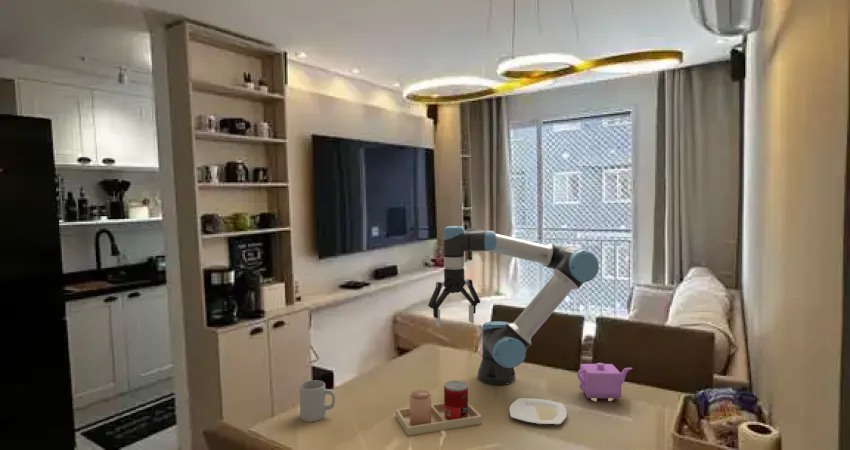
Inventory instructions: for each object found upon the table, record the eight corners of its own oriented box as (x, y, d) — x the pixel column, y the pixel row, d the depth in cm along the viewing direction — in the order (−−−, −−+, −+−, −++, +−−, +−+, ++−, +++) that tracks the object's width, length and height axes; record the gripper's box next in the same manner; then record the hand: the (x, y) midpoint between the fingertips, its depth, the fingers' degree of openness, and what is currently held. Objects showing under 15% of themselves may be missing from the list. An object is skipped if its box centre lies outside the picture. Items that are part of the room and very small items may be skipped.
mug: (296, 421, 166) (295, 389, 166) (304, 410, 175) (304, 379, 174) (332, 422, 166) (331, 390, 165) (338, 411, 174) (338, 380, 173)
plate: (569, 408, 177) (569, 402, 177) (565, 432, 159) (565, 426, 159) (514, 400, 183) (514, 395, 183) (504, 423, 165) (504, 418, 165)
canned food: (466, 423, 163) (466, 390, 163) (442, 420, 165) (442, 388, 165) (469, 413, 171) (469, 381, 170) (446, 410, 173) (446, 379, 172)
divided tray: (464, 407, 177) (464, 399, 176) (481, 425, 163) (481, 416, 163) (395, 418, 169) (395, 409, 168) (407, 437, 155) (407, 428, 155)
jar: (427, 416, 168) (427, 388, 168) (434, 425, 162) (434, 396, 161) (407, 419, 166) (407, 390, 166) (413, 429, 160) (413, 398, 159)
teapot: (580, 402, 181) (581, 368, 180) (573, 391, 191) (573, 358, 190) (637, 403, 180) (637, 368, 180) (626, 392, 190) (627, 359, 190)
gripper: (479, 264, 194) (480, 318, 196) (419, 268, 186) (420, 325, 187) (488, 266, 187) (489, 322, 189) (426, 271, 179) (427, 330, 180)
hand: (454, 324), depth 188 cm, fingers open, 13 cm apart
